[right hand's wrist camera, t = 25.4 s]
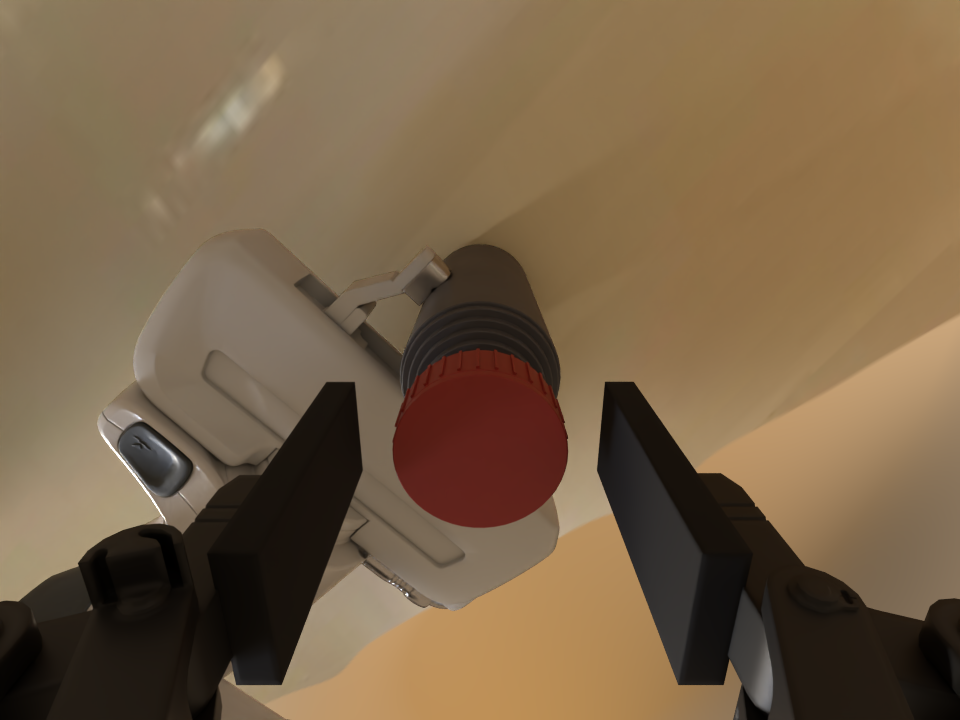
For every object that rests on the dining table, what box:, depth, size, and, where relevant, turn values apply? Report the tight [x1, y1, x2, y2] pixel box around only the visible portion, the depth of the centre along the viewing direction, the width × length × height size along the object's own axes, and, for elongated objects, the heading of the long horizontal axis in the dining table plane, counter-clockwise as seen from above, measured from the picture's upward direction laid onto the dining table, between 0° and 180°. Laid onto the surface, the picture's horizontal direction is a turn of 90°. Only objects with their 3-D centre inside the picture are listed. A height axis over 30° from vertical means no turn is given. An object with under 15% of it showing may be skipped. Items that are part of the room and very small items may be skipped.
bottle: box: [400, 244, 561, 399], centre depth 21 cm, size 5×5×16 cm
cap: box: [392, 348, 568, 528], centre depth 14 cm, size 4×4×2 cm
